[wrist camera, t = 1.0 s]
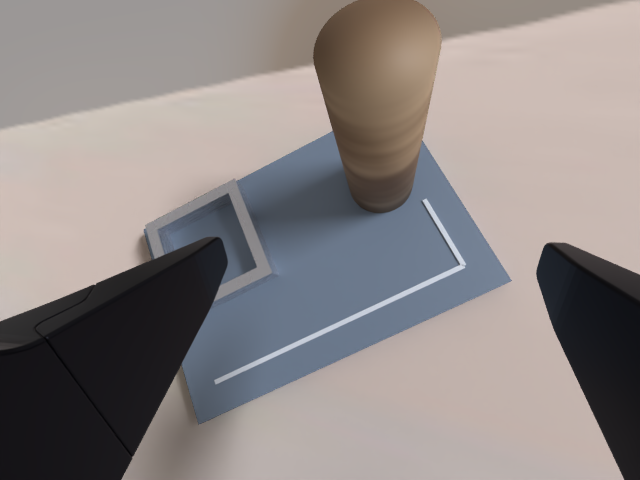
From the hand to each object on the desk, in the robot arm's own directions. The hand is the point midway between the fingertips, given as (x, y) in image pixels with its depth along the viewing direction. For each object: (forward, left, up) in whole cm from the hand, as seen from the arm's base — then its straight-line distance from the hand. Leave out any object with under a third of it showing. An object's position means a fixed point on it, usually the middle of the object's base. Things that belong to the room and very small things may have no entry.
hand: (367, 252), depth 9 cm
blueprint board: (+5, +4, -13) cm, 15 cm away
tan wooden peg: (+7, -3, -12) cm, 14 cm away
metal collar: (+8, +10, -12) cm, 17 cm away
